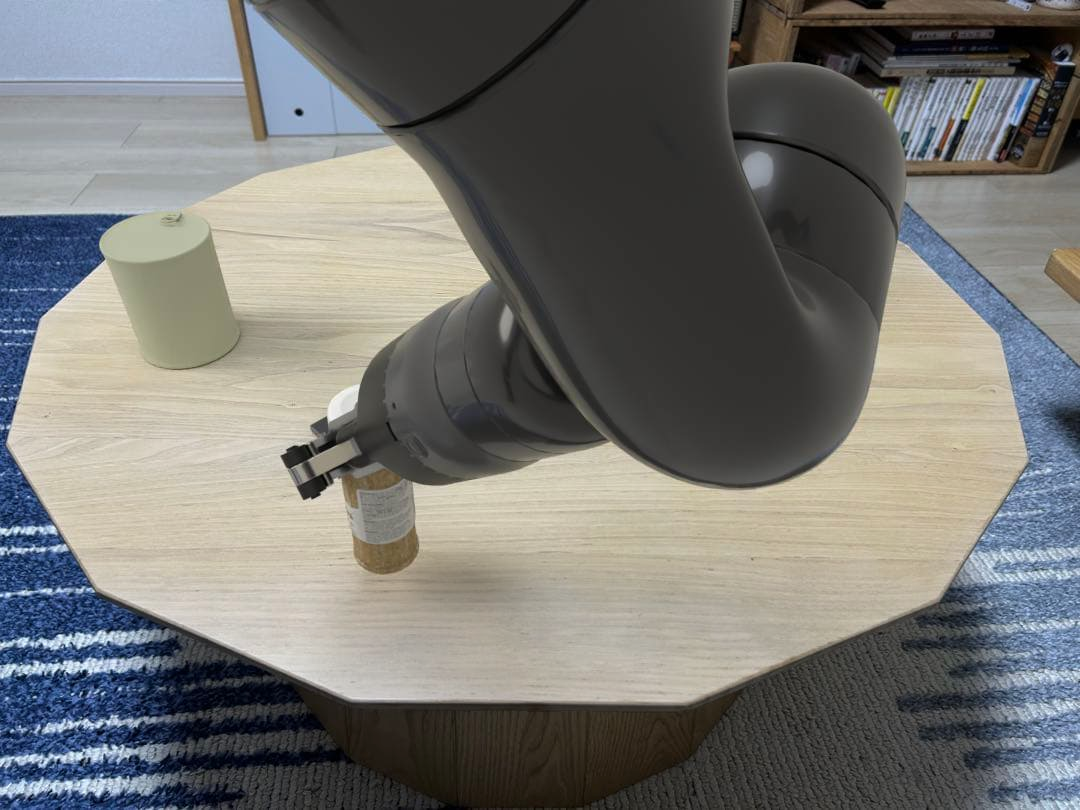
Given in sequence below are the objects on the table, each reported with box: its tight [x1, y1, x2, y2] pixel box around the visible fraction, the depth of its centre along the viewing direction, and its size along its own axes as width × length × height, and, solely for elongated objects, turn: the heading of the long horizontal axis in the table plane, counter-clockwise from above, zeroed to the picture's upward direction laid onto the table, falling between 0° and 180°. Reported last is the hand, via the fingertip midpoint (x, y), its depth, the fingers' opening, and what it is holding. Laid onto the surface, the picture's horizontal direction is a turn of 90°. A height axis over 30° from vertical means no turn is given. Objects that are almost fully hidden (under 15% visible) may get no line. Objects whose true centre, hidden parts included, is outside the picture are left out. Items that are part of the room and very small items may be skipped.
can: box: [98, 210, 241, 370], centre depth 71 cm, size 9×9×12 cm
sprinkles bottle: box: [326, 383, 420, 576], centre depth 49 cm, size 5×5×14 cm
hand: (357, 441), depth 48 cm, fingers closed on sprinkles bottle, 4 cm apart
